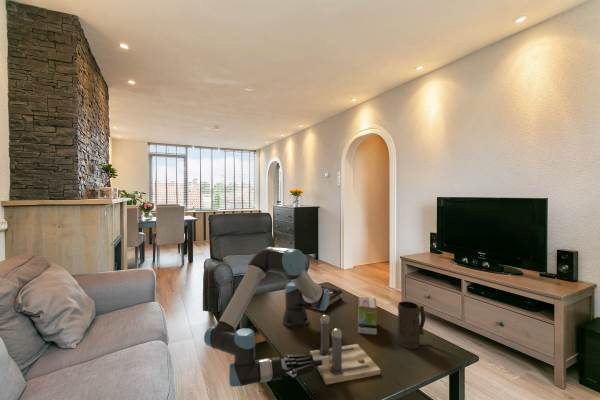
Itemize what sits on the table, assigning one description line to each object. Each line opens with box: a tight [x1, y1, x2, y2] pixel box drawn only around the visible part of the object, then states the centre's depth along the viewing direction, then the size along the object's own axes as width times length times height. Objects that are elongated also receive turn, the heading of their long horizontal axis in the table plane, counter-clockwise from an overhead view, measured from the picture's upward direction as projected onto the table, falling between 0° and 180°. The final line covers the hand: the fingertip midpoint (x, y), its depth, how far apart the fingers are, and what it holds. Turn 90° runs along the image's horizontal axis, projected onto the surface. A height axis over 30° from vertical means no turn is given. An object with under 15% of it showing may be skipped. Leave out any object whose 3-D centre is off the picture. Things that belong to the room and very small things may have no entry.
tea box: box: [357, 296, 378, 335], centre depth 158 cm, size 15×10×15 cm
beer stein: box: [396, 301, 426, 350], centre depth 142 cm, size 15×11×20 cm
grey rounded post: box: [330, 327, 343, 375], centre depth 116 cm, size 4×4×18 cm
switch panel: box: [309, 343, 381, 385], centre depth 124 cm, size 21×24×2 cm
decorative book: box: [315, 286, 343, 312], centre depth 196 cm, size 19×8×30 cm
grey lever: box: [318, 314, 331, 356], centre depth 129 cm, size 4×4×18 cm
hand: (328, 359), depth 114 cm, fingers closed
